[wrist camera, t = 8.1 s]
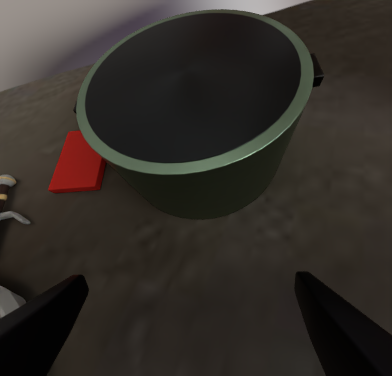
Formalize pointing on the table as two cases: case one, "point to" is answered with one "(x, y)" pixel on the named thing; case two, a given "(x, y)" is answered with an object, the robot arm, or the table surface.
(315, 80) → the cooking pot
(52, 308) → the robot arm
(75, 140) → the spatula
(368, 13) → the table surface
